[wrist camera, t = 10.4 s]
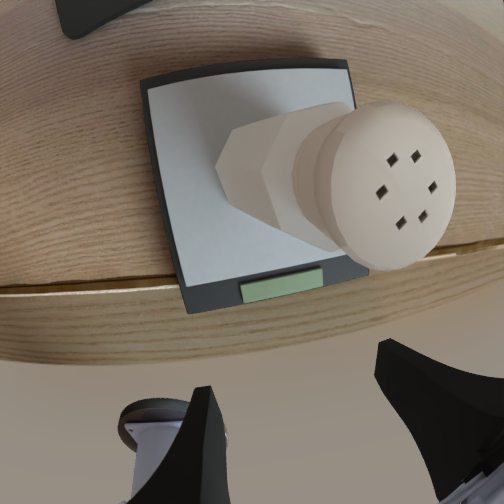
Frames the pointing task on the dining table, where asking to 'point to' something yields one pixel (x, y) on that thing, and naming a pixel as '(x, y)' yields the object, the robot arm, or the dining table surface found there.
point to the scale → (210, 188)
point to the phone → (91, 14)
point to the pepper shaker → (345, 179)
